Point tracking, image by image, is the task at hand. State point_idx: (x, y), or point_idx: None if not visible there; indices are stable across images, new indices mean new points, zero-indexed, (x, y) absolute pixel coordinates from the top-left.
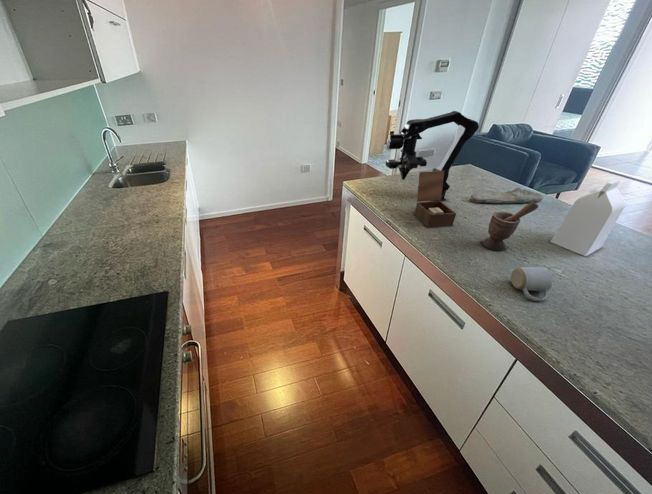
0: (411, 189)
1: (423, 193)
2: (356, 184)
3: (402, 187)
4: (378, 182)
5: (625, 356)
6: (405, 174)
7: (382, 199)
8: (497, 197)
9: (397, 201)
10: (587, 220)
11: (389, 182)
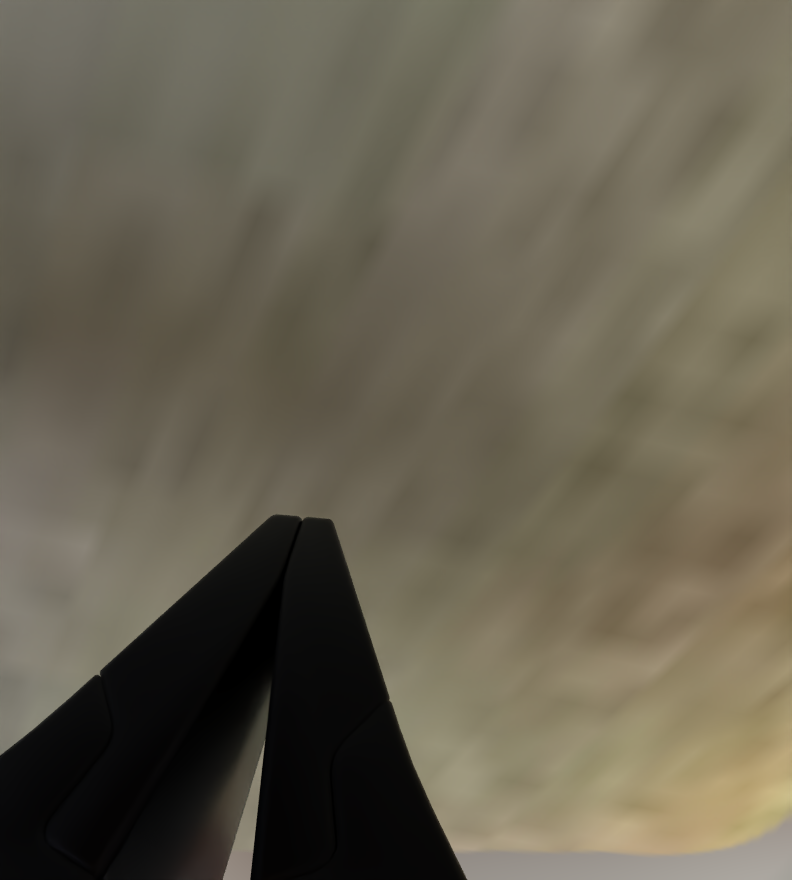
0: (37, 539)
1: None
2: (697, 800)
3: (148, 616)
4: None
5: None
6: (222, 669)
7: (695, 329)
8: None
9: (472, 172)
10: None
11: (262, 753)
